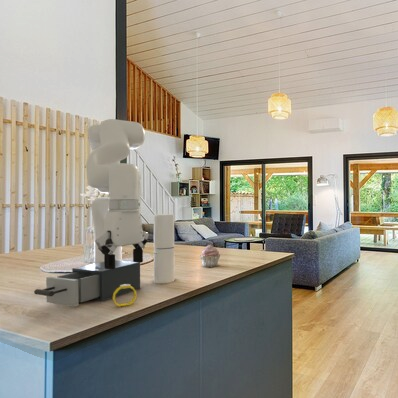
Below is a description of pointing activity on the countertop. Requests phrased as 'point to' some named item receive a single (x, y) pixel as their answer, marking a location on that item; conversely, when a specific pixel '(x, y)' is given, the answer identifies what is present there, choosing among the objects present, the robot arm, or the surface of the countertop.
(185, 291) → the countertop surface
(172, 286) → the countertop surface
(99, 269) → the cabinet
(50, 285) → the drawer
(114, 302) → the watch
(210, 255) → the cupcake
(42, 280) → the countertop surface
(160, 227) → the cylindrical container
